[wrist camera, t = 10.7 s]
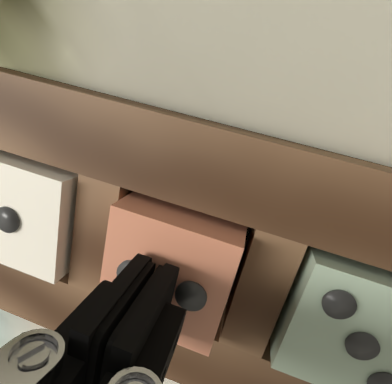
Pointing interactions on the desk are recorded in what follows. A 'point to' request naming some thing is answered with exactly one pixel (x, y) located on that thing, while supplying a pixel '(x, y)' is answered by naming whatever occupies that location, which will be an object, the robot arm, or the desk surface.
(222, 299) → the button two dots
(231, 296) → the button board
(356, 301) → the button three dots
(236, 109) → the desk surface
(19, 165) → the button one dot
